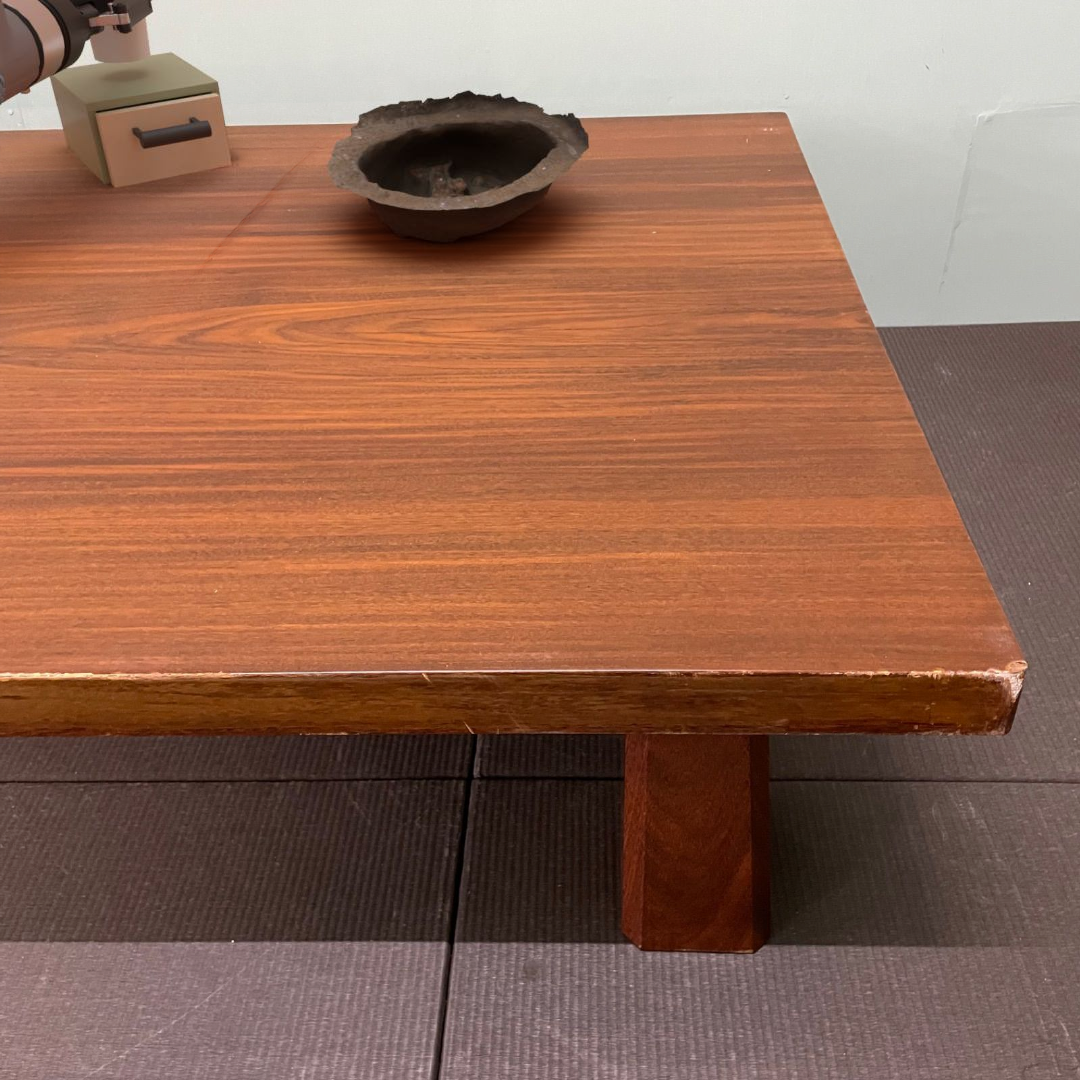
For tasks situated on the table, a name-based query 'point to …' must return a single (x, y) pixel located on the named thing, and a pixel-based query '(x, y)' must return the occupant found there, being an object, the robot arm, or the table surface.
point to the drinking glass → (121, 44)
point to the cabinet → (119, 97)
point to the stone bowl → (455, 162)
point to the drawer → (163, 138)
